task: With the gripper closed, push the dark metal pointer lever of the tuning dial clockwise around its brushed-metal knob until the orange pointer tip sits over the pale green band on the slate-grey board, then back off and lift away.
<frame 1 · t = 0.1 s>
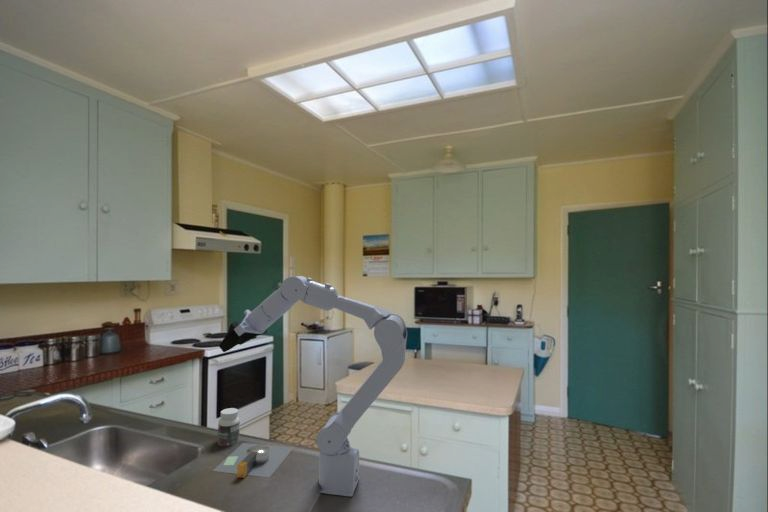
hand: (230, 345, 98), 32 cm above the countertop, tool tilted 50°, fingers open, 7 cm apart
pill bottle: (228, 446, 112), on the countertop
board: (255, 463, 103), on the countertop
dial: (252, 459, 99), point 3 cm above the countertop, hinge at 0.0°
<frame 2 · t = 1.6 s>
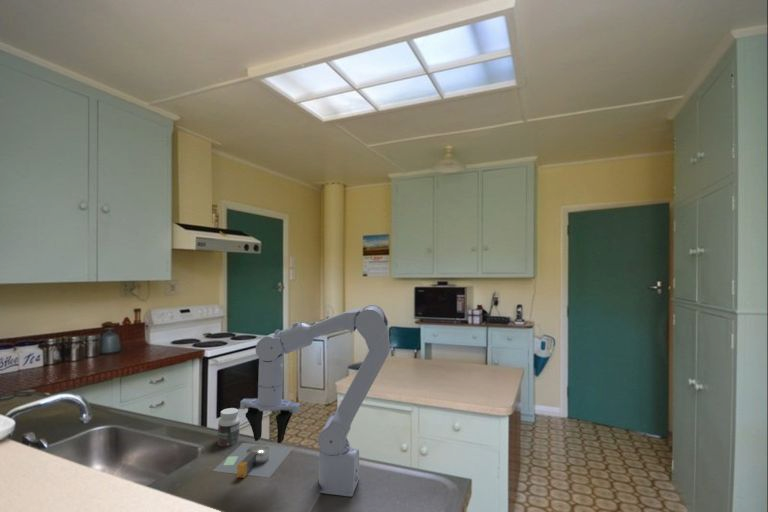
hand: (269, 440, 95), 10 cm above the countertop, tool pointing down, fingers open, 5 cm apart
nothing on the countertop moved.
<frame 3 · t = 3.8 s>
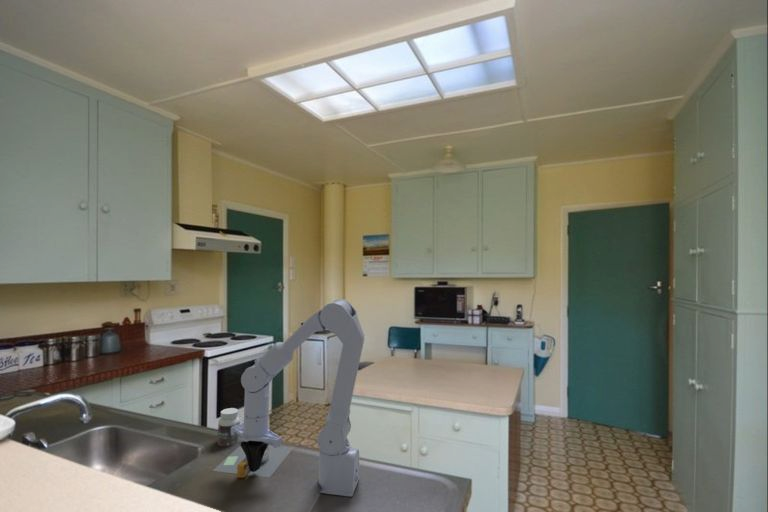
hand: (254, 469, 95), 2 cm above the countertop, tool pointing down, fingers closed, pressing on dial
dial: (252, 459, 99), point 3 cm above the countertop, hinge at 0.0°, touching gripper
everything else where it was.
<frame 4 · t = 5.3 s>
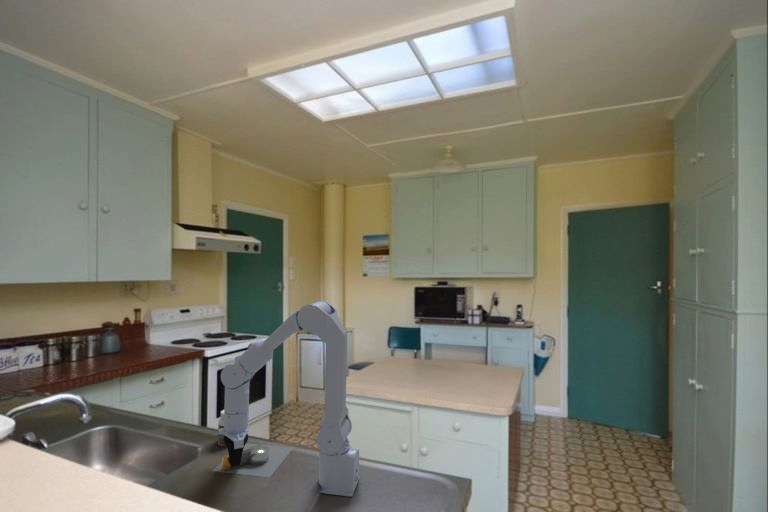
hand: (235, 464, 97), 2 cm above the countertop, tool pointing down, fingers closed, pressing on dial
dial: (246, 457, 100), point 3 cm above the countertop, hinge at 44.9°, touching gripper
everything else where it was.
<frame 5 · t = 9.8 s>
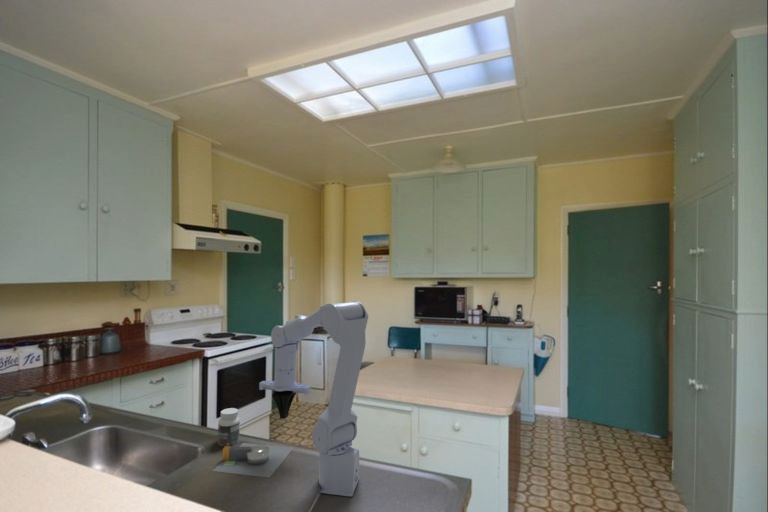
hand: (284, 417, 108), 10 cm above the countertop, tool pointing down, fingers closed
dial: (246, 453, 102), point 3 cm above the countertop, hinge at 79.4°
everything else where it was.
at the end: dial at +79° (first picture: +0°) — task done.
